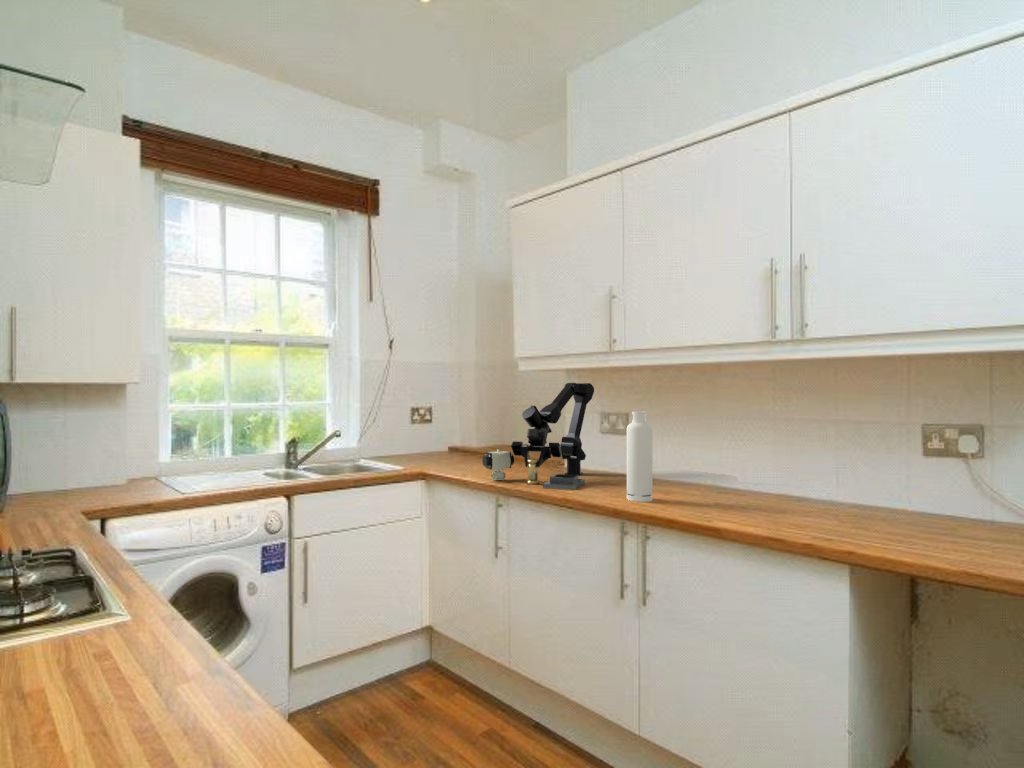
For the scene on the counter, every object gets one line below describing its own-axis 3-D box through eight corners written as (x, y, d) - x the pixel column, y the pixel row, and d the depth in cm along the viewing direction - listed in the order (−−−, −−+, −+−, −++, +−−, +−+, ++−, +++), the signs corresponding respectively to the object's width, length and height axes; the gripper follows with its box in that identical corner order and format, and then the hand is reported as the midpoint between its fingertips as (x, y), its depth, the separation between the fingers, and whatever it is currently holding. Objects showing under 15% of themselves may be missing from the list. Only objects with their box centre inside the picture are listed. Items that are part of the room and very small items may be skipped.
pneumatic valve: (482, 480, 222) (482, 449, 222) (509, 478, 227) (509, 448, 227) (487, 482, 217) (487, 450, 217) (515, 480, 222) (515, 449, 222)
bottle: (628, 496, 188) (628, 411, 188) (653, 498, 185) (653, 411, 186) (624, 500, 180) (624, 412, 180) (651, 502, 177) (651, 412, 178)
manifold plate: (553, 481, 219) (553, 472, 219) (584, 483, 215) (584, 473, 215) (542, 488, 204) (542, 478, 204) (575, 489, 200) (575, 479, 200)
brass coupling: (529, 482, 216) (529, 458, 216) (539, 483, 215) (539, 459, 215) (525, 484, 212) (525, 460, 212) (536, 485, 211) (536, 460, 211)
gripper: (512, 420, 221) (503, 451, 210) (559, 421, 215) (552, 453, 204) (518, 439, 228) (509, 470, 217) (564, 440, 222) (557, 472, 211)
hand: (531, 466), depth 212 cm, fingers closed on brass coupling, 4 cm apart
